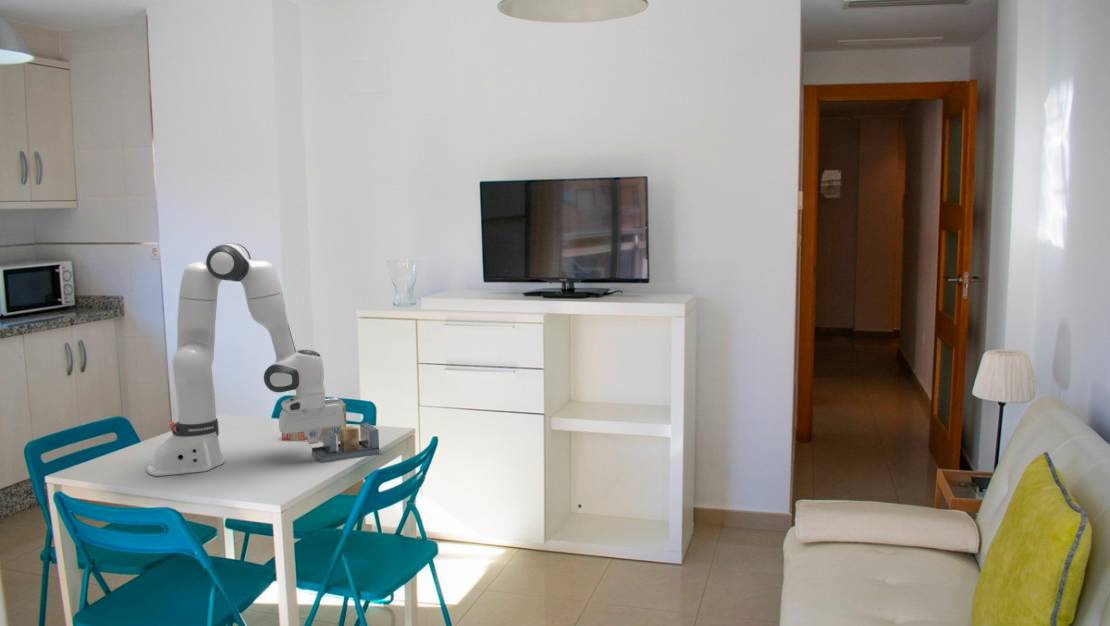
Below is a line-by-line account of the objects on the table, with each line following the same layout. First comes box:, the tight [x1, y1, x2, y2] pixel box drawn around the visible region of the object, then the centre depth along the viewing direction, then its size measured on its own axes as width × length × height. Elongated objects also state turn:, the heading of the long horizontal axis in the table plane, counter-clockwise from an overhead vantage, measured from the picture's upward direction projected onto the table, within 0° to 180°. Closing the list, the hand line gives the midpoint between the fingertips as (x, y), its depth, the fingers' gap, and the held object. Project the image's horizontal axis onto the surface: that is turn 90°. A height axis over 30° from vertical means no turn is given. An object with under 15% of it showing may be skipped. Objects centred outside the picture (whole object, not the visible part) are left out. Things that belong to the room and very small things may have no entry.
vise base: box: [311, 422, 380, 463], centre depth 296 cm, size 19×11×8 cm, turn 120°
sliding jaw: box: [322, 430, 339, 453], centre depth 293 cm, size 2×8×6 cm, turn 30°
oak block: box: [339, 425, 360, 451], centre depth 296 cm, size 5×4×7 cm
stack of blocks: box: [281, 402, 347, 442], centre depth 316 cm, size 21×6×12 cm, turn 84°
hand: (313, 443), depth 290 cm, fingers closed
